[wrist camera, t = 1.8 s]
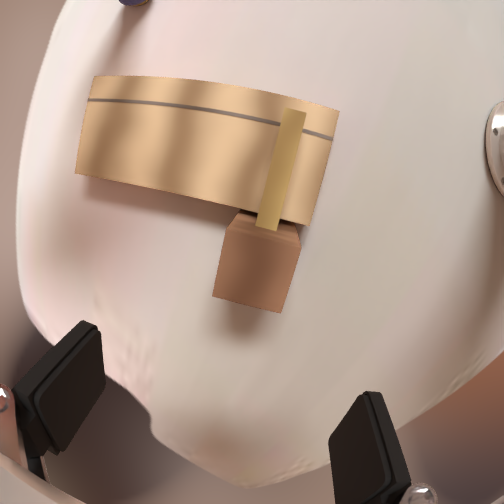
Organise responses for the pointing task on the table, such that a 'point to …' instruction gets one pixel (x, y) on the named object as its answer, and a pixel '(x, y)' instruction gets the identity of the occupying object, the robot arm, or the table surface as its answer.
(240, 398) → the table surface
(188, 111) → the board
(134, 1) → the rubber mallet
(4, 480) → the robot arm
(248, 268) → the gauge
